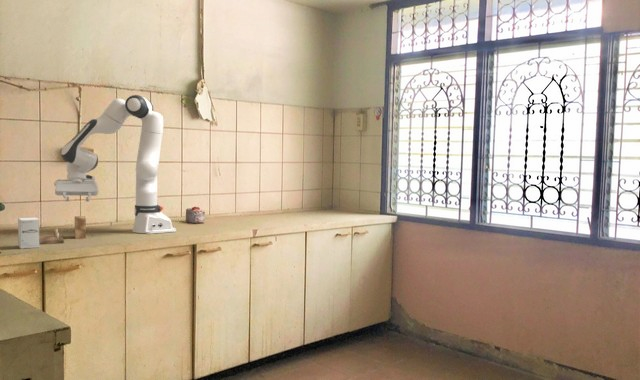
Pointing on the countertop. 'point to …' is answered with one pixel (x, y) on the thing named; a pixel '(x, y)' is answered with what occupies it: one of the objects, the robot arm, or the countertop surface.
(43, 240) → the peg stand
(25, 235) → the supplement box
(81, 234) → the brown rectangular block
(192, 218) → the food item
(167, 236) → the countertop surface
